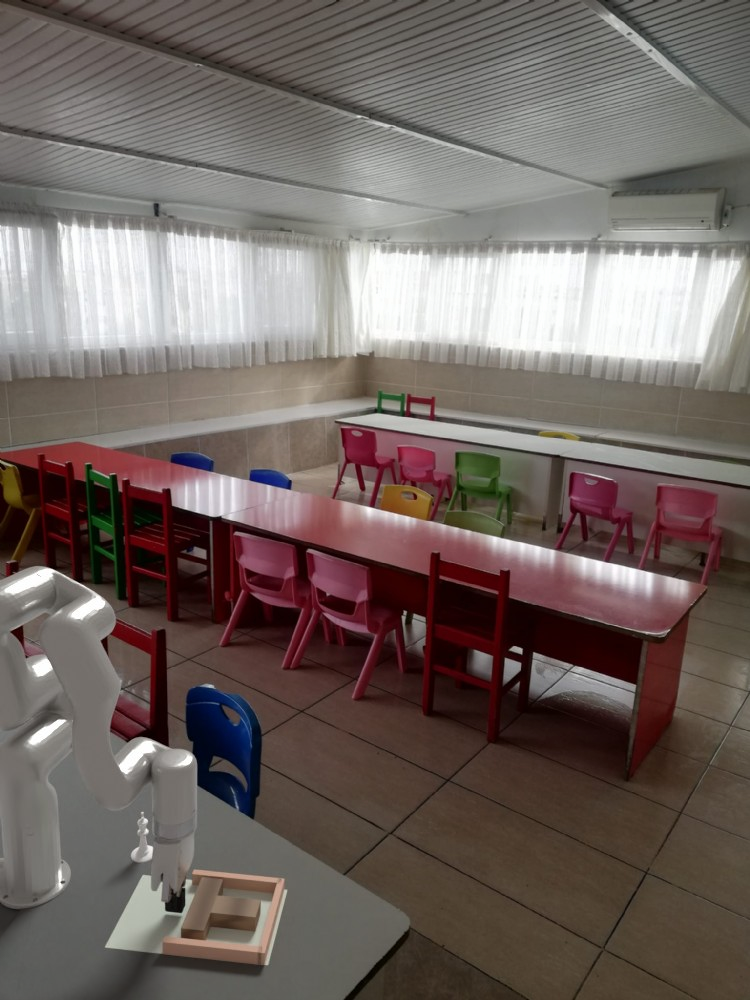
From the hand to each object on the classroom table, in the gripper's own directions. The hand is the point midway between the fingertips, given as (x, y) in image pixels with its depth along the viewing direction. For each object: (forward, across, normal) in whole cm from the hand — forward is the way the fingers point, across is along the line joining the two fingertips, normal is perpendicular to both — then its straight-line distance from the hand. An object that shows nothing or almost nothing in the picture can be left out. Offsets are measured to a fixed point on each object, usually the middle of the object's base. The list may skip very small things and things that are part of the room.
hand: (175, 908), depth 133 cm
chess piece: (+2, -14, -11) cm, 18 cm away
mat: (+2, 0, +5) cm, 5 cm away
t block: (+1, 0, +9) cm, 9 cm away
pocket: (+1, 0, +9) cm, 9 cm away
